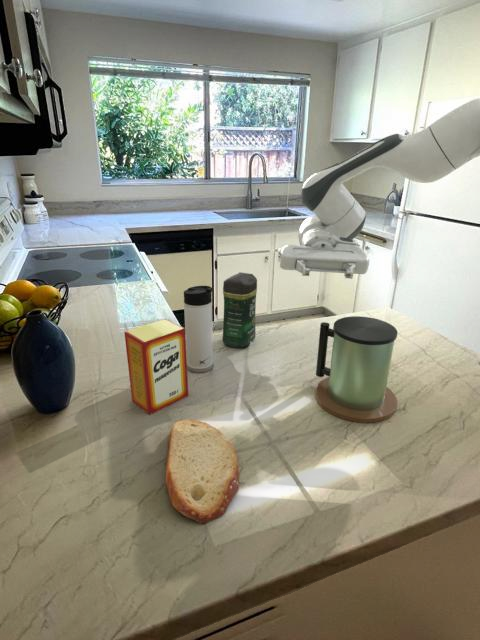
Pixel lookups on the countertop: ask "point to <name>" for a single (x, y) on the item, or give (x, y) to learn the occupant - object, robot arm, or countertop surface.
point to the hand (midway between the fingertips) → (327, 274)
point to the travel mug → (198, 328)
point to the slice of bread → (200, 470)
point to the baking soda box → (157, 364)
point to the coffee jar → (239, 309)
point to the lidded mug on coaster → (357, 369)
